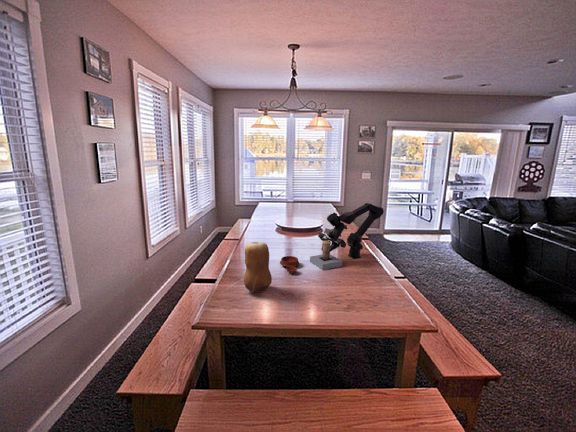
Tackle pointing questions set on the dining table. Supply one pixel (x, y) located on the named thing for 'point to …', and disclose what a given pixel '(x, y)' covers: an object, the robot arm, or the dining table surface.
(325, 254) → the tan wooden cylinder
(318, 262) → the socket block
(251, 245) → the butternut squash
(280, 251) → the dining table surface
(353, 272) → the dining table surface
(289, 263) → the pottery
